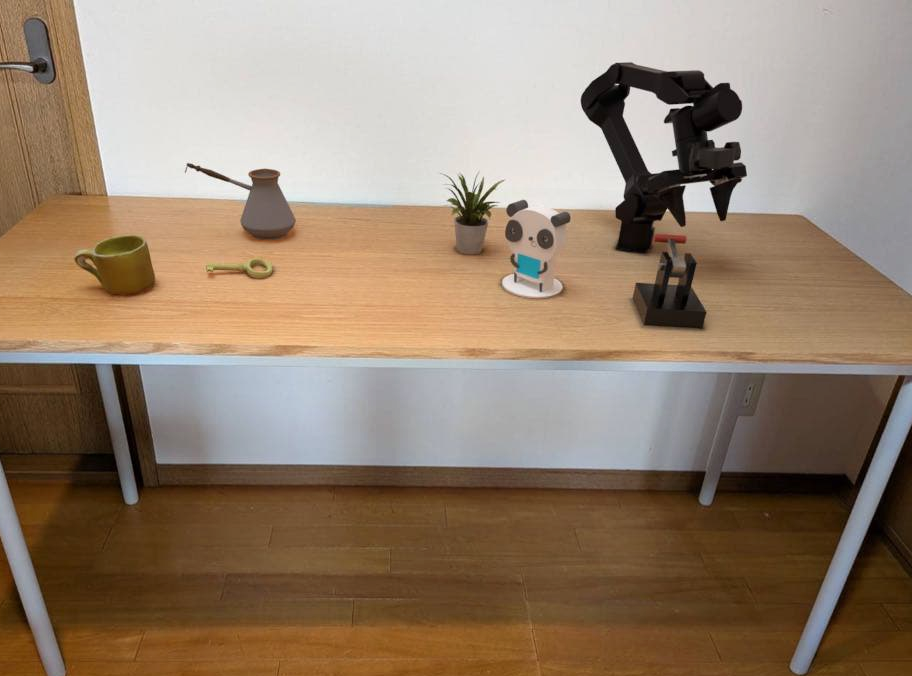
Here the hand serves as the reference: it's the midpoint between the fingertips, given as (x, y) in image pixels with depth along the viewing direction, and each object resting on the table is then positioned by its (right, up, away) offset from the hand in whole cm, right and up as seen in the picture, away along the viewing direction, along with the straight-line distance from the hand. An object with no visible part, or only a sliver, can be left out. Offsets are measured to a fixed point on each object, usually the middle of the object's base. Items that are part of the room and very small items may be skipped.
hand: (703, 223), depth 140 cm
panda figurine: (-32, -12, +1) cm, 34 cm away
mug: (-107, -13, -7) cm, 108 cm away
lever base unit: (-10, -18, -8) cm, 22 cm away
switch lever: (-9, -9, -9) cm, 16 cm away
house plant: (-45, -2, +15) cm, 47 cm away
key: (-87, -9, +1) cm, 88 cm away
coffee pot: (-91, +2, +18) cm, 92 cm away
